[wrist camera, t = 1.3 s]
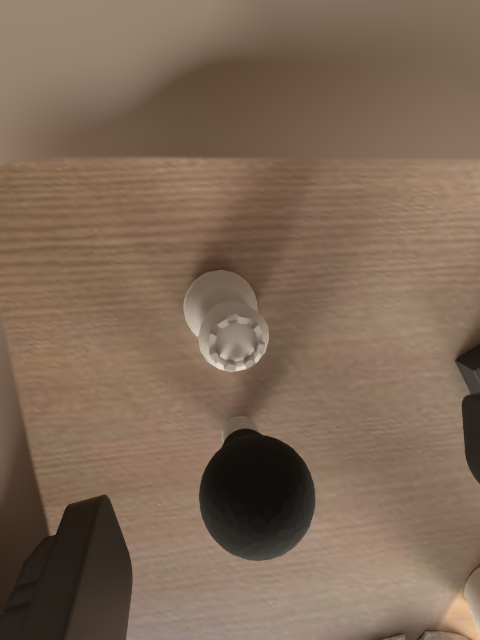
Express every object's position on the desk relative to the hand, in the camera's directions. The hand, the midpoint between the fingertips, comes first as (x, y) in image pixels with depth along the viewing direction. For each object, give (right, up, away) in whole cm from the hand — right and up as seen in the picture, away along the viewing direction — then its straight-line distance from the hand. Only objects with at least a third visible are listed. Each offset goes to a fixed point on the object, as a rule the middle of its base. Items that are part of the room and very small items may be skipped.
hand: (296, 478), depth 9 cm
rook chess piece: (-3, +4, +17) cm, 18 cm away
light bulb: (-1, -4, +19) cm, 20 cm away
